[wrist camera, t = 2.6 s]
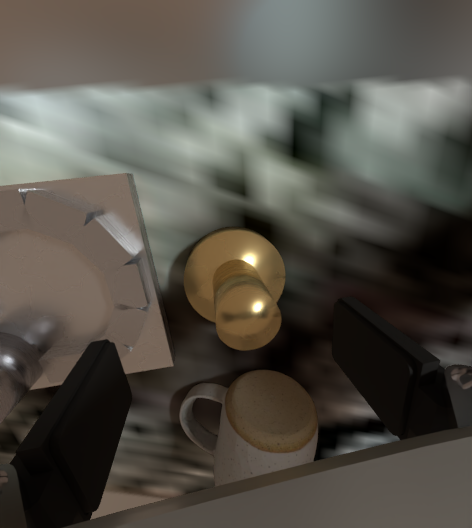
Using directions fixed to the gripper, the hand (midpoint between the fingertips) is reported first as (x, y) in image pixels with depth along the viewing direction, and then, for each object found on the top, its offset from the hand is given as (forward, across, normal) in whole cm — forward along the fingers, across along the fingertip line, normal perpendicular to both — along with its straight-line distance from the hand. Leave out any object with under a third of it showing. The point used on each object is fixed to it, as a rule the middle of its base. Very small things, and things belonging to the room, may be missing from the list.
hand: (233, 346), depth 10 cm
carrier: (+8, +13, -1) cm, 15 cm away
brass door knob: (+8, -1, 0) cm, 8 cm away
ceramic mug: (+8, 0, +13) cm, 15 cm away
